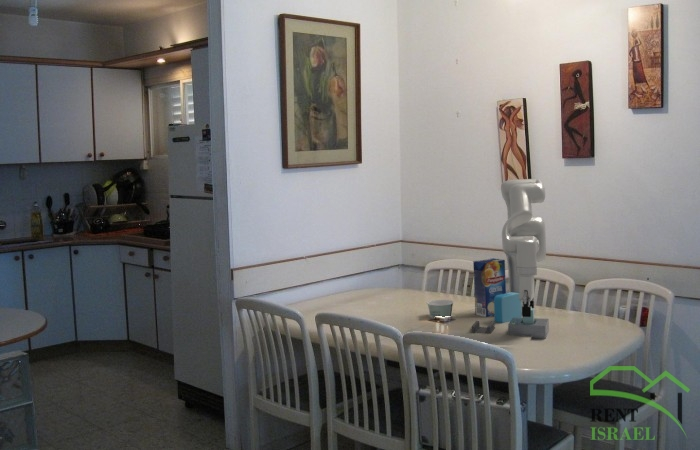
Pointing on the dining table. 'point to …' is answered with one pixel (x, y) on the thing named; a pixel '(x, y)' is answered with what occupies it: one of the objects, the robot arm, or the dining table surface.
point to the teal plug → (529, 319)
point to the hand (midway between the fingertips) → (528, 313)
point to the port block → (529, 328)
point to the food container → (440, 308)
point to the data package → (507, 307)
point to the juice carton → (488, 284)
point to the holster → (483, 328)
